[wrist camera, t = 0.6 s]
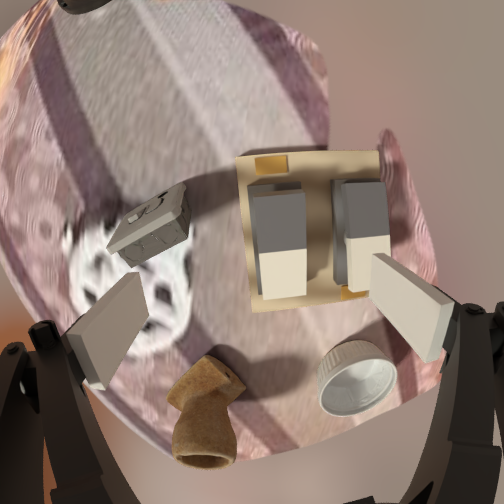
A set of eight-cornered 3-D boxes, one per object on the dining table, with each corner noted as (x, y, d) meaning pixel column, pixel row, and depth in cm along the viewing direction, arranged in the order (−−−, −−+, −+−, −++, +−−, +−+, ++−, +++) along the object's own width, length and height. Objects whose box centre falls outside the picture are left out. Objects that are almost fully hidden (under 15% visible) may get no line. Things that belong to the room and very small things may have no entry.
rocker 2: (338, 185, 30) (345, 183, 28) (376, 184, 30) (385, 182, 28) (345, 287, 31) (352, 292, 29) (382, 281, 31) (390, 286, 29)
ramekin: (295, 378, 43) (301, 407, 36) (344, 320, 40) (360, 346, 33) (348, 397, 45) (359, 422, 38) (395, 348, 42) (412, 371, 35)
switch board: (235, 157, 32) (234, 156, 29) (371, 151, 32) (385, 149, 28) (252, 305, 38) (253, 320, 34) (372, 289, 38) (383, 301, 34)
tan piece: (212, 420, 46) (207, 483, 31) (160, 392, 43) (140, 456, 29) (264, 381, 43) (271, 453, 28) (206, 346, 40) (192, 420, 26)
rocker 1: (252, 191, 28) (253, 197, 26) (300, 187, 28) (305, 192, 26) (261, 288, 33) (263, 300, 31) (302, 283, 33) (306, 295, 31)
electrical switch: (184, 180, 33) (167, 192, 24) (203, 215, 35) (193, 239, 26) (125, 214, 34) (95, 236, 25) (144, 246, 36) (120, 276, 27)
